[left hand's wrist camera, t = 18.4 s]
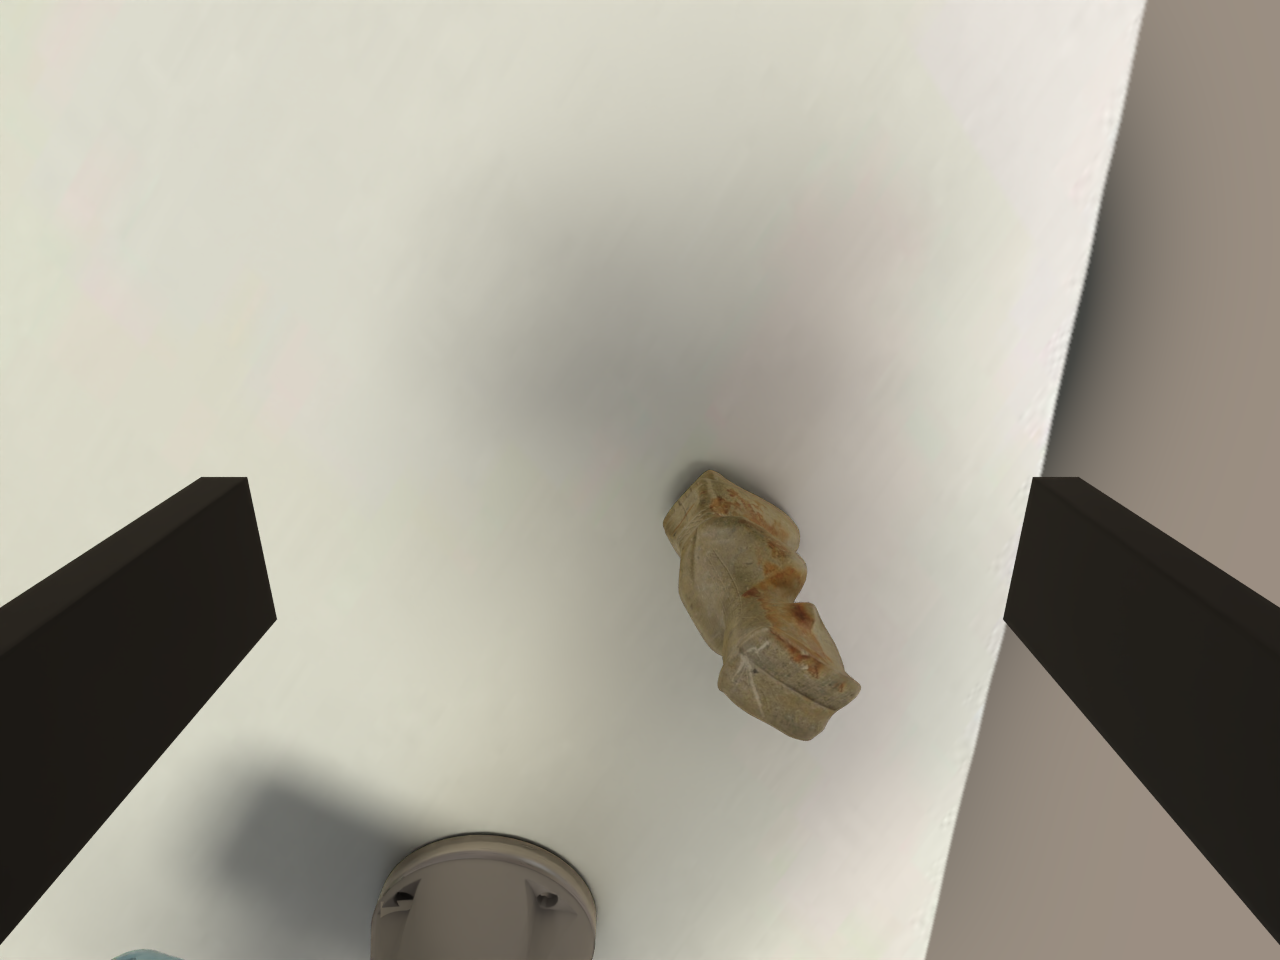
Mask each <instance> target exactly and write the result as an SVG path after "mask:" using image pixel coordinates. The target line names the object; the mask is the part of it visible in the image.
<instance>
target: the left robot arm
mask: <svg viewBox="0 0 1280 960" xmlns="http://www.w3.org/2000/svg"><path fill="white" fill-rule="evenodd" d="M276 620H277V617H276V612H275V608H274V603H273V598H272V593H271V589H270V584H269V579H268V574H267V570H266V565H265V560H264V555H263V550H262V546H261V541H260V536H259V531H258V527H257V522H256V517H255V512H254V507H253V503H252V498H251V493H250V488H249V484H248V479H247V477H201V478H199V479H198V480H196V481H195V482H193V483H191V484H190V485H188V486H187V487H185V488H184V489H182V490H181V491H179V492H178V493H176V494H175V495H173V496H171V497H170V498H168V499H167V500H165V501H164V502H162V503H161V504H159V505H158V506H156V507H155V508H153V509H151V510H150V511H148V512H147V513H145V514H144V515H142V516H141V517H139V518H138V519H136V520H135V521H133V522H131V523H130V524H128V525H127V526H125V527H124V528H122V529H121V530H119V531H118V532H116V533H115V534H113V535H111V536H110V537H108V538H107V539H105V540H104V541H102V542H101V543H99V544H98V545H96V546H94V547H93V548H91V549H90V550H88V551H87V552H85V553H84V554H82V555H81V556H79V557H78V558H76V559H74V560H73V561H71V562H70V563H68V564H67V565H65V566H64V567H62V568H61V569H59V570H58V571H56V572H54V573H53V574H51V575H50V576H48V577H47V578H45V579H44V580H42V581H41V582H39V583H38V584H36V585H34V586H33V587H31V588H30V589H28V590H27V591H25V592H24V593H22V594H21V595H19V596H18V597H16V598H14V599H13V600H11V601H10V602H8V603H7V604H5V605H4V606H2V607H1V608H0V945H1V943H2V942H3V941H4V940H5V939H6V938H7V936H8V935H9V934H10V933H11V932H12V930H13V929H14V928H15V927H16V926H17V925H18V923H19V922H20V921H21V920H22V919H23V918H24V916H25V915H26V914H27V913H28V912H29V910H30V909H31V908H32V907H33V906H34V905H35V903H36V902H37V901H38V900H39V899H40V898H41V896H42V895H43V894H44V893H45V892H46V890H47V889H48V888H49V887H50V886H51V885H52V883H53V882H54V881H55V880H56V879H57V878H58V876H59V875H60V874H61V873H62V872H63V870H64V869H65V868H66V867H67V866H68V865H69V863H70V862H71V861H72V860H73V859H74V858H75V856H76V855H77V854H78V853H79V852H80V850H81V849H82V848H83V847H84V846H85V845H86V843H87V842H88V841H89V840H90V839H91V838H92V836H93V835H94V834H95V833H96V832H97V830H98V829H99V828H100V827H101V826H102V825H103V823H104V822H105V821H106V820H107V819H108V818H109V816H110V815H111V814H112V813H113V812H114V810H115V809H116V808H117V807H118V806H119V805H120V803H121V802H122V801H123V800H124V799H125V798H126V796H127V795H128V794H129V793H130V792H131V790H132V789H133V788H134V787H135V786H136V785H137V783H138V782H139V781H140V780H141V779H142V778H143V776H144V775H145V774H146V773H147V772H148V770H149V769H150V768H151V767H152V766H153V765H154V763H155V762H156V761H157V760H158V759H159V758H160V756H161V755H162V754H163V753H164V752H165V750H166V749H167V748H168V747H169V746H170V745H171V743H172V742H173V741H174V740H175V739H176V738H177V736H178V735H179V734H180V733H181V732H182V730H183V729H184V728H185V727H186V726H187V725H188V723H189V722H190V721H191V720H192V719H193V718H194V716H195V715H196V714H197V713H198V712H199V710H200V709H201V708H202V707H203V706H204V705H205V703H206V702H207V701H208V700H209V699H210V698H211V696H212V695H213V694H214V693H215V692H216V690H217V689H218V688H219V687H220V686H221V685H222V683H223V682H224V681H225V680H226V679H227V678H228V676H229V675H230V674H231V673H232V672H233V670H234V669H235V668H236V667H237V666H238V665H239V663H240V662H241V661H242V660H243V659H244V658H245V656H246V655H247V654H248V653H249V652H250V650H251V649H252V648H253V647H254V646H255V645H256V643H257V642H258V641H259V640H260V639H261V638H262V636H263V635H264V634H265V633H266V632H267V630H268V629H269V628H270V627H271V626H272V625H273V623H274V622H275V621H276ZM1003 620H1004V621H1005V622H1006V623H1007V625H1008V626H1009V627H1010V628H1011V629H1012V630H1013V632H1014V633H1015V634H1016V635H1017V636H1018V638H1019V639H1020V640H1021V641H1022V642H1023V643H1024V645H1025V646H1026V647H1027V648H1028V649H1029V650H1030V652H1031V653H1032V654H1033V655H1034V656H1035V658H1036V659H1037V660H1038V661H1039V662H1040V663H1041V664H1042V666H1043V667H1044V668H1045V669H1046V670H1047V672H1048V673H1049V674H1050V675H1051V676H1052V678H1053V679H1054V680H1055V681H1056V682H1057V683H1058V685H1059V686H1060V687H1061V688H1062V689H1063V690H1064V692H1065V693H1066V694H1067V695H1068V696H1069V697H1070V699H1071V700H1072V701H1073V702H1074V703H1075V704H1076V706H1077V707H1078V708H1079V709H1080V710H1081V712H1082V713H1083V714H1084V715H1085V716H1086V718H1087V719H1088V720H1089V721H1090V722H1091V723H1092V725H1093V726H1094V727H1095V728H1096V729H1097V730H1098V732H1099V733H1100V734H1101V735H1102V736H1103V738H1104V739H1105V740H1106V741H1107V742H1108V743H1109V745H1110V746H1111V747H1112V748H1113V749H1114V750H1115V752H1116V753H1117V754H1118V755H1119V756H1120V757H1121V759H1122V760H1123V761H1124V762H1125V763H1126V765H1127V766H1128V767H1129V768H1130V769H1131V770H1132V772H1133V773H1134V774H1135V775H1136V776H1137V778H1138V779H1139V780H1140V781H1141V782H1142V783H1143V785H1144V786H1145V787H1146V788H1147V789H1148V790H1149V792H1150V793H1151V794H1152V795H1153V796H1154V797H1155V799H1156V800H1157V801H1158V802H1159V803H1160V805H1161V806H1162V807H1163V808H1164V809H1165V810H1166V812H1167V813H1168V814H1169V815H1170V816H1171V818H1172V819H1173V820H1174V821H1175V822H1176V823H1177V825H1178V826H1179V827H1180V828H1181V829H1182V830H1183V832H1184V833H1185V834H1186V835H1187V836H1188V838H1189V839H1190V840H1191V841H1192V842H1193V843H1194V845H1195V846H1196V847H1197V848H1198V849H1199V850H1200V852H1201V853H1202V854H1203V855H1204V856H1205V858H1206V859H1207V860H1208V861H1209V862H1210V863H1211V865H1212V866H1213V867H1214V868H1215V869H1216V870H1217V872H1218V873H1219V874H1220V875H1221V876H1222V878H1223V879H1224V880H1225V881H1226V882H1227V883H1228V885H1229V886H1230V887H1231V888H1232V889H1233V890H1234V892H1235V893H1236V894H1237V895H1238V896H1239V898H1240V899H1241V900H1242V901H1243V902H1244V903H1245V905H1246V906H1247V907H1248V908H1249V909H1250V910H1251V912H1252V913H1253V914H1254V915H1255V916H1256V918H1257V919H1258V920H1259V921H1260V922H1261V923H1262V925H1263V926H1264V927H1265V928H1266V929H1267V930H1268V932H1269V933H1270V934H1271V935H1272V936H1273V938H1274V939H1275V940H1276V941H1277V942H1278V943H1279V945H1280V608H1279V607H1278V606H1276V605H1275V604H1273V603H1272V602H1270V601H1269V600H1267V599H1266V598H1264V597H1262V596H1261V595H1259V594H1258V593H1256V592H1255V591H1253V590H1252V589H1250V588H1249V587H1247V586H1246V585H1244V584H1242V583H1241V582H1239V581H1238V580H1236V579H1235V578H1233V577H1232V576H1230V575H1228V574H1227V573H1226V572H1224V571H1222V570H1221V569H1219V568H1218V567H1216V566H1215V565H1213V564H1212V563H1210V562H1209V561H1207V560H1206V559H1204V558H1202V557H1201V556H1199V555H1198V554H1196V553H1195V552H1193V551H1192V550H1190V549H1189V548H1187V547H1186V546H1184V545H1182V544H1181V543H1179V542H1178V541H1176V540H1175V539H1173V538H1172V537H1170V536H1169V535H1167V534H1165V533H1164V532H1162V531H1161V530H1159V529H1158V528H1156V527H1155V526H1153V525H1152V524H1150V523H1149V522H1147V521H1145V520H1144V519H1142V518H1141V517H1139V516H1138V515H1136V514H1135V513H1133V512H1132V511H1130V510H1129V509H1127V508H1125V507H1124V506H1122V505H1121V504H1119V503H1118V502H1116V501H1115V500H1113V499H1112V498H1110V497H1108V496H1107V495H1105V494H1104V493H1102V492H1101V491H1099V490H1098V489H1096V488H1095V487H1093V486H1092V485H1090V484H1089V483H1087V482H1085V481H1084V480H1082V479H1081V478H1079V477H1033V479H1032V484H1031V488H1030V493H1029V498H1028V503H1027V507H1026V512H1025V517H1024V522H1023V527H1022V531H1021V536H1020V541H1019V546H1018V550H1017V555H1016V560H1015V565H1014V570H1013V574H1012V579H1011V584H1010V589H1009V593H1008V598H1007V603H1006V608H1005V612H1004V617H1003ZM595 934H596V908H595V904H594V900H593V898H592V895H591V893H590V891H589V889H588V887H587V885H586V884H585V882H584V881H583V879H582V878H581V877H580V876H579V875H578V874H577V872H576V871H575V870H574V869H572V868H571V867H570V866H569V865H568V864H567V863H565V862H564V861H563V860H562V859H560V858H559V857H557V856H555V855H554V854H552V853H550V852H548V851H547V850H545V849H543V848H540V847H538V846H536V845H533V844H530V843H527V842H524V841H521V840H517V839H513V838H508V837H502V836H494V835H466V836H458V837H452V838H447V839H444V840H440V841H437V842H434V843H431V844H429V845H426V846H424V847H422V848H420V849H418V850H416V851H415V852H413V853H411V854H410V855H409V856H407V857H406V858H405V859H403V860H402V861H401V862H400V863H399V864H398V865H397V866H396V867H395V868H394V869H393V871H392V872H391V873H390V875H389V876H388V878H387V880H386V882H385V884H384V886H383V889H382V891H381V894H380V897H379V899H378V902H377V905H376V908H375V910H374V914H373V917H372V922H371V960H592V958H593V954H594V949H595ZM112 960H183V959H180V958H177V957H173V956H170V955H167V954H164V953H161V952H158V951H155V950H149V949H141V950H134V951H130V952H126V953H124V954H121V955H119V956H117V957H115V958H114V959H112Z"/></svg>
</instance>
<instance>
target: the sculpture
mask: <svg viewBox="0 0 1280 960" xmlns="http://www.w3.org/2000/svg"><path fill="white" fill-rule="evenodd" d="M663 527H664V529H665V533H666V535H667V537H668V538H669V540H670V542H671V544H672V546H673V548H674V549H675V551H676V552H677V554H678V555H679V557H680V558H681V561H680V571H679V595H680V598H681V600H682V602H683V604H684V606H685V608H686V610H687V611H688V613H689V615H690V617H691V619H692V620H693V622H694V624H695V625H696V627H697V629H698V631H699V632H700V634H701V636H702V637H703V639H704V640H705V642H706V643H707V644H708V646H709V647H710V648H711V649H712V650H713V651H714V652H716V653H717V654H719V655H721V656H723V667H722V669H721V671H720V674H719V678H718V688H719V690H720V691H722V692H724V693H725V694H726V695H727V696H728V698H729V699H730V700H731V701H732V702H733V703H734V704H736V705H737V706H738V707H740V708H741V709H742V710H744V711H745V712H747V713H748V714H750V715H752V716H754V717H756V718H758V719H759V720H761V721H763V722H765V723H767V724H769V725H771V726H773V727H774V728H776V729H778V730H779V731H781V732H783V733H784V734H786V735H788V736H789V737H792V738H795V739H799V740H803V741H809V740H811V739H812V738H814V737H815V736H816V735H818V734H819V733H820V732H822V731H823V730H824V728H825V726H826V724H827V722H828V720H829V719H830V718H831V716H832V715H833V714H834V713H835V712H836V711H838V710H839V709H841V708H843V707H844V706H846V705H847V704H848V703H850V702H851V701H852V700H853V699H854V698H856V696H857V695H858V694H859V692H860V690H861V686H860V684H859V683H858V682H856V681H855V680H854V679H853V678H851V677H850V676H849V675H848V674H847V673H846V672H845V670H844V666H843V663H842V660H841V657H840V654H839V652H838V650H837V647H836V645H835V643H834V641H833V639H832V638H831V636H830V634H829V633H828V631H827V630H826V628H825V626H824V624H823V622H822V620H821V618H820V616H819V614H818V611H817V609H816V607H815V605H813V604H812V603H809V602H801V603H794V600H795V598H796V597H797V595H798V594H799V592H800V590H801V589H802V587H803V585H804V583H805V580H806V576H807V567H806V563H805V562H804V560H803V559H802V558H801V557H800V556H799V555H798V554H797V553H796V551H797V549H798V547H799V542H800V533H799V530H798V528H797V526H796V525H795V523H794V522H793V521H792V519H791V518H790V517H789V516H787V515H786V514H785V513H784V512H783V511H781V510H780V509H779V508H777V507H776V506H774V505H773V504H771V503H769V502H767V501H766V500H764V499H762V498H760V497H758V496H756V495H755V494H752V493H750V492H748V491H746V490H744V489H742V488H740V487H738V486H737V485H735V484H733V483H732V482H730V481H729V480H727V479H726V478H724V477H723V476H722V475H721V474H719V473H718V472H715V471H712V470H707V471H706V472H704V473H703V474H702V475H701V476H700V477H699V478H698V479H697V480H696V481H695V482H694V483H693V484H692V485H691V486H690V487H689V488H688V490H687V491H686V492H685V493H684V494H683V495H682V496H681V497H680V498H679V499H678V501H677V502H676V503H675V504H674V505H673V507H672V508H671V509H670V511H669V512H668V514H667V516H666V517H665V519H664V521H663Z"/></svg>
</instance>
